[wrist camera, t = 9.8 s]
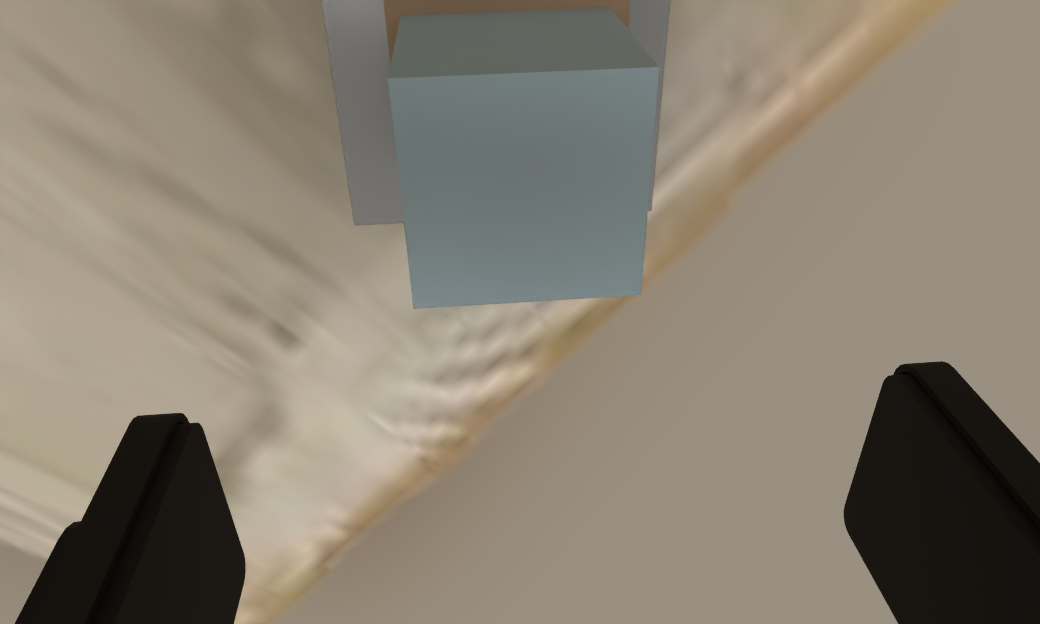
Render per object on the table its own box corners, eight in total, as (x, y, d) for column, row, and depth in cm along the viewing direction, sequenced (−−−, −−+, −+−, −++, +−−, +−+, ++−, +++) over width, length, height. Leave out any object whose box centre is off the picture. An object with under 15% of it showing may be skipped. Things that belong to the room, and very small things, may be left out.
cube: (400, 15, 22) (387, 78, 17) (610, 7, 22) (659, 67, 17) (419, 208, 25) (413, 308, 20) (602, 198, 25) (640, 295, 20)
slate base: (312, -124, 26) (304, -119, 24) (666, -131, 27) (681, -127, 25) (358, 203, 32) (354, 225, 31) (640, 190, 33) (651, 210, 32)
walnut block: (392, -35, 26) (382, -3, 22) (601, -41, 26) (631, -11, 22) (411, 163, 30) (406, 222, 25) (593, 155, 30) (617, 212, 26)
